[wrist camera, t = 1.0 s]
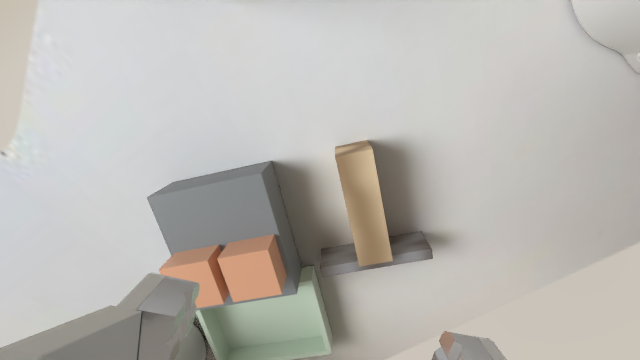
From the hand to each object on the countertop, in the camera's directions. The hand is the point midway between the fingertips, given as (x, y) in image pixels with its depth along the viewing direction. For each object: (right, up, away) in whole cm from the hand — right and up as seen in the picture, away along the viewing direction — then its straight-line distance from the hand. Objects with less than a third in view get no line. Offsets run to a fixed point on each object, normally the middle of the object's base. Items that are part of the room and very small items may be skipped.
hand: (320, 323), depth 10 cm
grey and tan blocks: (+5, +3, +24) cm, 25 cm away
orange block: (-12, -5, +22) cm, 26 cm away
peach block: (-7, -4, +21) cm, 23 cm away
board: (-10, -1, +26) cm, 28 cm away
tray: (-7, -13, +29) cm, 33 cm away
